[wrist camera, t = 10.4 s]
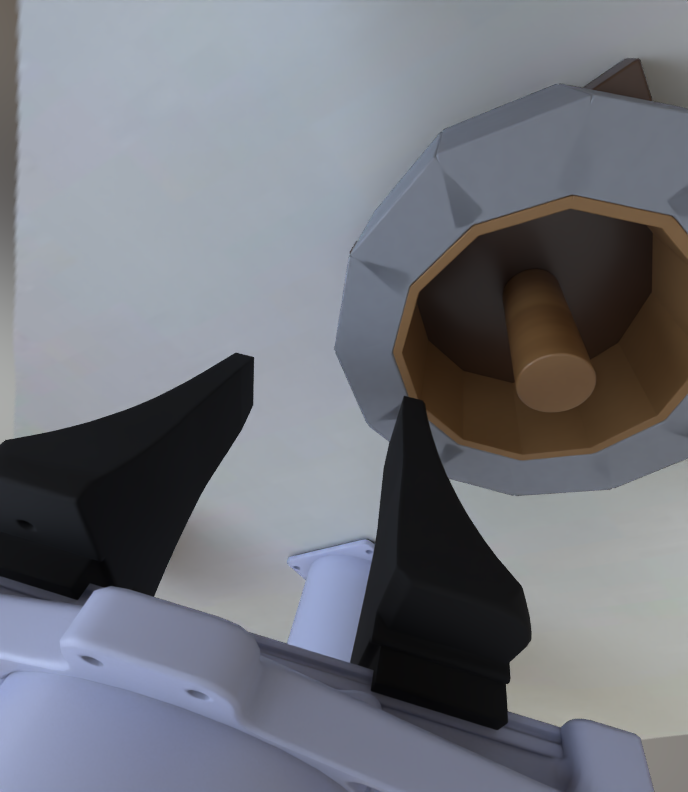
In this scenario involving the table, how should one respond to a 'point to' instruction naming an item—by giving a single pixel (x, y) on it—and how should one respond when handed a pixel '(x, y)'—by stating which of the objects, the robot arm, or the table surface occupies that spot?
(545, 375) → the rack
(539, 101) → the tape roll
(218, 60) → the table surface
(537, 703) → the table surface
